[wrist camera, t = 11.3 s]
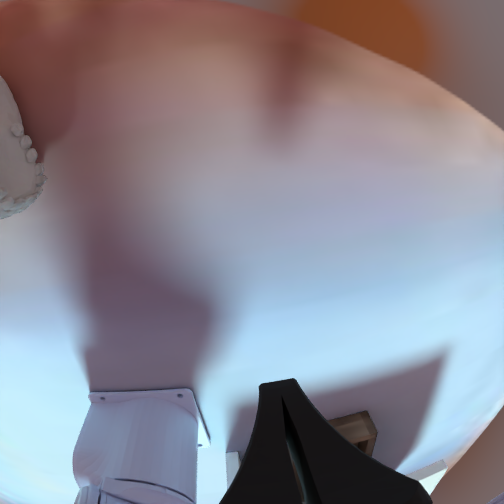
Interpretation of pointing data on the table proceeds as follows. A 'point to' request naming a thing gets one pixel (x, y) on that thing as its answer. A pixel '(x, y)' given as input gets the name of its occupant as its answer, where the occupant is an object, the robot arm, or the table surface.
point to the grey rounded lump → (16, 159)
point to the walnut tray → (350, 436)
